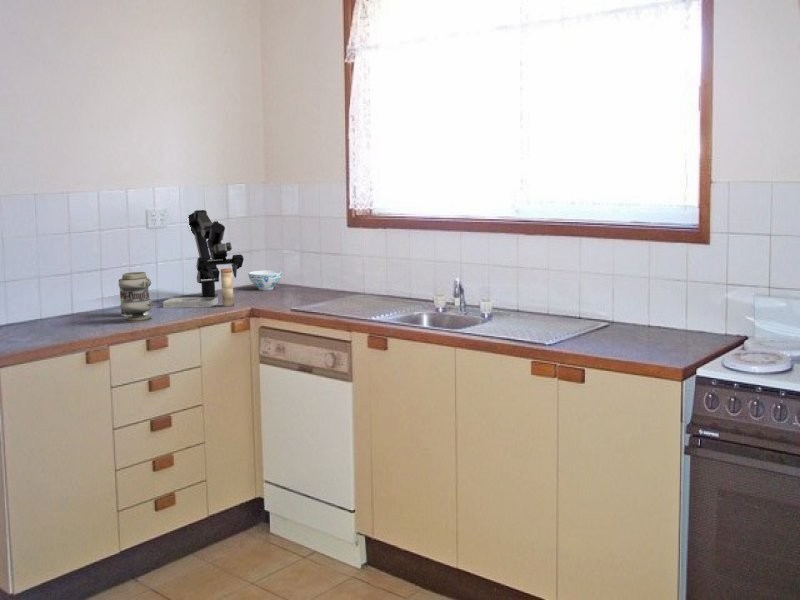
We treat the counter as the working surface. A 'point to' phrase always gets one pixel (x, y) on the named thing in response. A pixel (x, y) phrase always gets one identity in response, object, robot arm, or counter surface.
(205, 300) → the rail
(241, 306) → the counter surface
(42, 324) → the counter surface
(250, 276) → the chinaware
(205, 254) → the robot arm
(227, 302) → the peg
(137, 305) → the apothecary jar
